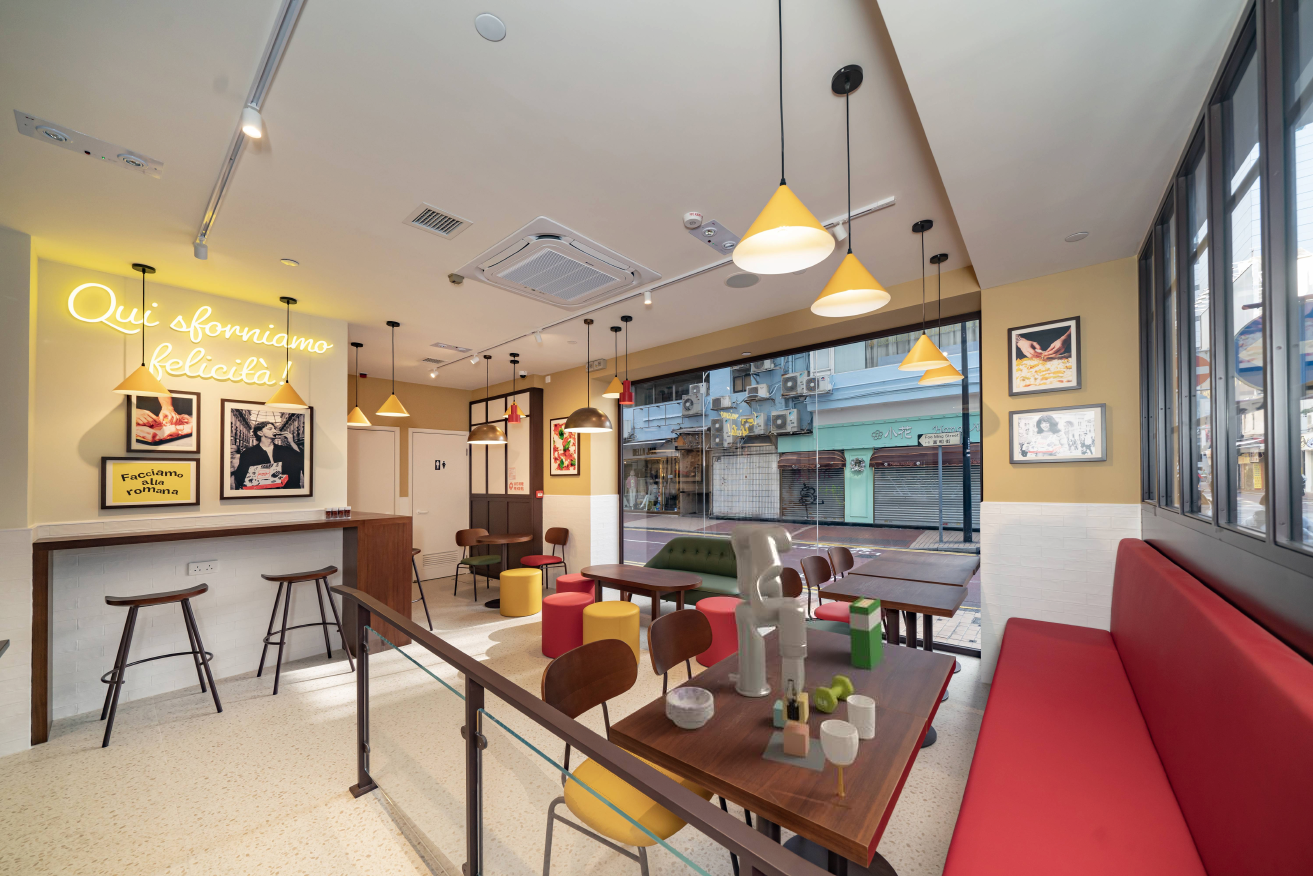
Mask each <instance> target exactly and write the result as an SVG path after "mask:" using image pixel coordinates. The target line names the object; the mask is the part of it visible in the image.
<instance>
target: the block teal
mask: <svg viewBox="0 0 1313 876" xmlns="http://www.w3.org/2000/svg"><path fill="white" fill-rule="evenodd" d="M772 714H773V716H772V717H773V726H774V727H778V728H783V729H784V727H785V725H786V723H787V721H785V720H783V703H782V700H779V699H777V700H776V701H775V704H774V705H773V706H772Z"/></svg>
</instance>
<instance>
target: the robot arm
mask: <svg viewBox="0 0 1313 876" xmlns="http://www.w3.org/2000/svg"><path fill="white" fill-rule="evenodd" d="M731 529H732V530H731V532H730V542H731V546H732V549H733V551H734V554H735V558H736V572H737V573H736V576H737V588H738V592H739V595H740V596H743V597H745V598H749V600H743V601H740V602H738V603H736V605H735V608H734V616H735V623H736V628H737V642H738V643H737V645H738V673H737V674H733V673H728V676H727V677H728V680H729V682H731V683H735V685H734V687H735V691H736V692H737V693H738V694H740V695H742V696H745V697H751V698H759V697H765V696H767V695H769V694H770V693H771V690H772V689H771V686H770V685H769V683H768V682H767V675H766V673H767V671H766V643H765V639H764V637H763V635H762V634H761V632H759V630H758V629H761V628H776V627H778V638H779V639H778V640H779V642H778V643H779V655H780V656H782V658H781V661H782V662H781V693H782V694H785V693H786V691H787V718H788V719H789V720H795V721H799V705H798V695H799V694H800V693H801V692H803V688H804V686H805V676H806V675H805V661H804V660H805V658H806V657H808V648H807V646H808V645H807V623H806V621H807V620H806V608H805V607H804V606H803V605H801V603H800V602H799V601H798V600H797V598H795V597H790V596H789V597H788V596H787V597H783V584H782V579H781V576H780V575H781V574H782V573H783V571H784V567H783V562H782V559H781V557H780V555H779V554H788V553H789V552H790V553H791V550H792V548H793V539H792V535H791V534H790V532H789V530H787V529H786V528H785V527H783V526H781V525H779V524H776V523H763V524H762V523H760V524H759V523H757V524H756V523H755V524H754V523H753V524H748V523H747V524H740V525H737V526H734V527H732V528H731ZM793 691H796V694H795V693H793ZM803 693H804V692H803ZM793 696H795V699H794V698H793Z"/></svg>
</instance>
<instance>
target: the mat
mask: <svg viewBox="0 0 1313 876" xmlns="http://www.w3.org/2000/svg"><path fill="white" fill-rule="evenodd" d="M809 746H810V747H809V750H808V753H807V756H806V757H801V756H797V755H792V754H788V753H784V743H783V731H777V730H774V732H773V733H772V735H771V738H770V740H769V742H768V744H767V746H766V748H765V750H764V752H763V754H762V756H761V759H765V760H769V761H772V762H773V761H774V762H778V763H783V764H786V765H790V766H796V767H800V768H802V769H807V770H812V771H817V772H821V773H822V772H823V771H824V767H825V764H826V761H827V757H826V755H825V753H824V750H823V747H822V744H821V739H817V738H812V737H809Z"/></svg>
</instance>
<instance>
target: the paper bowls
mask: <svg viewBox="0 0 1313 876" xmlns="http://www.w3.org/2000/svg"><path fill="white" fill-rule="evenodd" d="M665 712H666V713H665V714H666V716H667V718H668V719H669V720H672V721H673V722H674V724H675V725H676V726H677V727H680V728H682V729H686V730H691V729H692V730H693V729H699V728H701V727H703V726H704V725H705V724H706V723H707V721H709V720H710V719H712V718H713V715H714V714H715V707H714V696H713V694H712V693H711V692H710V691H709V690H706V689H704V688H701V687H696V686H694V687H693V686H683V687H678V688H675V689H672V690H670V691H669V692H668V693H667V694H666V697H665Z"/></svg>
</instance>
